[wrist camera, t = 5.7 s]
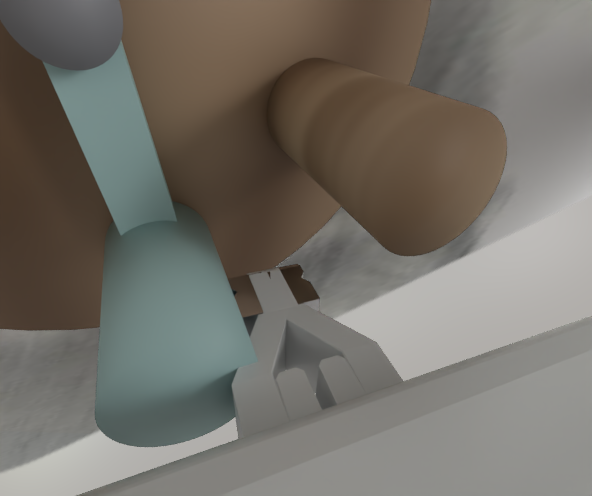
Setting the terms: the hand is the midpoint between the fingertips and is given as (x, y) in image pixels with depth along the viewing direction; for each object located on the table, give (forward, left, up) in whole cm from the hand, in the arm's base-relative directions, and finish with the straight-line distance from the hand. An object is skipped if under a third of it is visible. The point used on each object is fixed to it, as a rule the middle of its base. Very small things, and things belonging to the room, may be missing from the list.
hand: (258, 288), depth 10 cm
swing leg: (+4, -2, -2) cm, 5 cm away
